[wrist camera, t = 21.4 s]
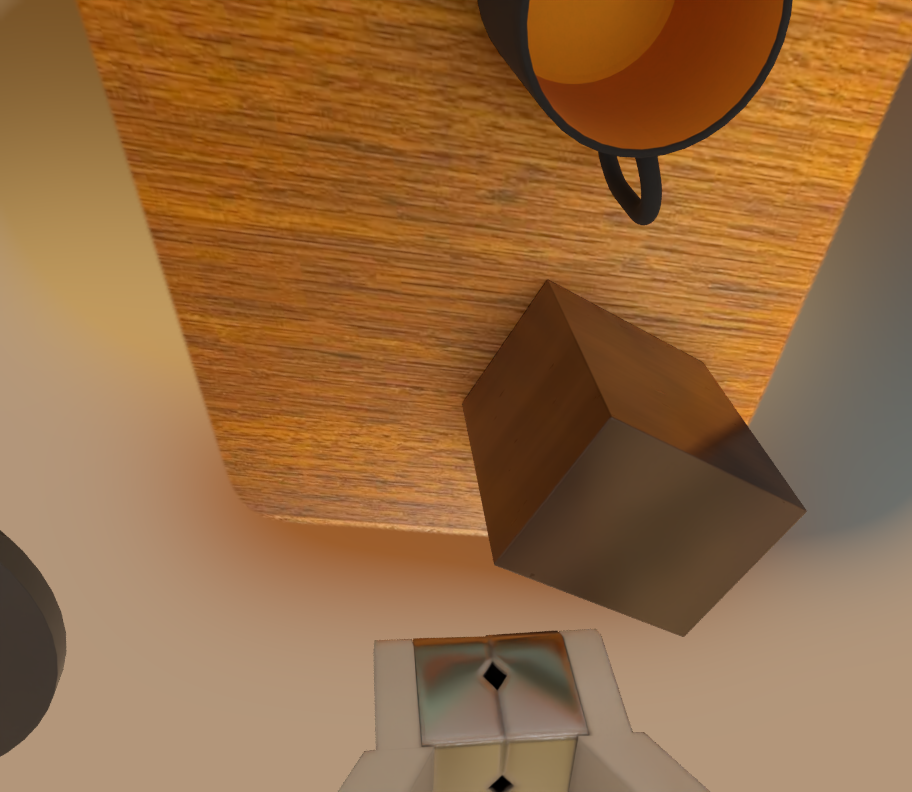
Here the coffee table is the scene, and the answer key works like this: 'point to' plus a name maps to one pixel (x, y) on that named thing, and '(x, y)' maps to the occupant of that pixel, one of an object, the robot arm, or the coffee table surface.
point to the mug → (639, 73)
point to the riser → (619, 467)
